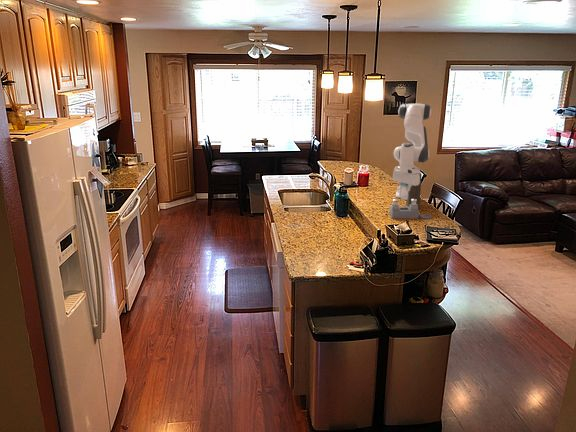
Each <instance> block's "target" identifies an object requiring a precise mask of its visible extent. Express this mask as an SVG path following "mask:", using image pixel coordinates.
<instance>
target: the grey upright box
mask: <svg viewBox="0 0 576 432" xmlns="http://www.w3.org/2000/svg"><path fill="white" fill-rule="evenodd" d="M419 175H420V183H419V185H417V186H414V185H412V186H411V188H410V191H408V199H407V200H405V201H406V207H409V204H412V201H411V199H417V201H416V204H417V205H418V210H420V208H421V207H420V205H421V197H420V195H421V194H422V193H421V191H422V190H421V189H422V175H423V174H422V172H421V171H420V173H419Z"/></svg>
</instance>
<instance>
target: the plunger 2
mask: <svg viewBox="0 0 576 432" xmlns="http://www.w3.org/2000/svg"><path fill="white" fill-rule="evenodd" d="M411 201H412V204H411V206H416V201H417V199H411Z"/></svg>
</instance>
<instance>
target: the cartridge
mask: <svg viewBox="0 0 576 432" xmlns="http://www.w3.org/2000/svg"><path fill="white" fill-rule="evenodd" d="M407 188H408V184H406V183H402V192H401V198H400V200H401V201H402V200H404V201H406V200H407V199H408V191H407Z"/></svg>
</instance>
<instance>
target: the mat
mask: <svg viewBox="0 0 576 432" xmlns="http://www.w3.org/2000/svg"><path fill="white" fill-rule="evenodd" d="M418 219H420V220H433V219H434V217H433V216H432V215H430V214H419V218H418Z"/></svg>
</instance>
